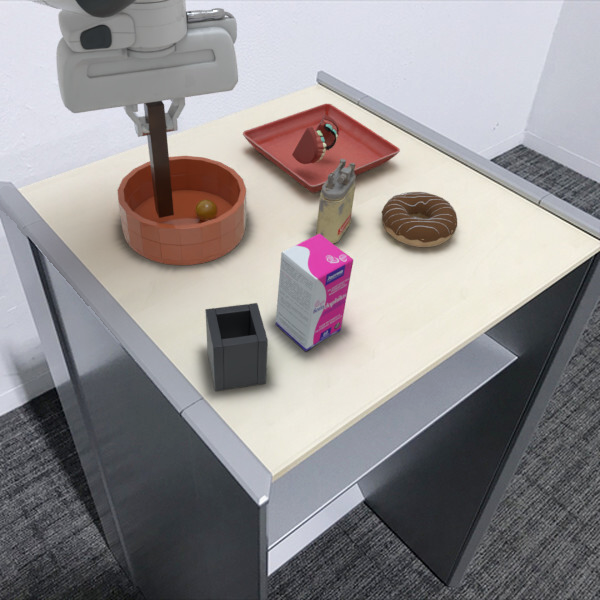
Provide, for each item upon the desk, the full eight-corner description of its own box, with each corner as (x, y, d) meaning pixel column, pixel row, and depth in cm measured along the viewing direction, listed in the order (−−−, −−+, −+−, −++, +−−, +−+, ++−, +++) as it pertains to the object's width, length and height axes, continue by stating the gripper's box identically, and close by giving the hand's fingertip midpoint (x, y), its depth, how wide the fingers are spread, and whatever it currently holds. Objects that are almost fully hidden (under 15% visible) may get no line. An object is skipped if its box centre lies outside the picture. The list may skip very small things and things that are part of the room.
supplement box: (307, 354, 76) (314, 279, 69) (274, 324, 79) (277, 250, 72) (343, 331, 79) (354, 257, 71) (310, 303, 82) (317, 230, 75)
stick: (159, 218, 88) (147, 107, 77) (155, 209, 90) (143, 99, 79) (174, 215, 89) (164, 104, 78) (169, 206, 90) (159, 96, 79)
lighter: (334, 247, 91) (342, 185, 84) (309, 239, 92) (315, 177, 85) (353, 220, 96) (362, 159, 89) (329, 212, 97) (336, 151, 90)
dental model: (334, 154, 104) (309, 175, 98) (313, 137, 104) (287, 158, 98) (350, 126, 99) (324, 147, 94) (328, 109, 100) (301, 129, 94)
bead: (197, 226, 91) (196, 209, 89) (194, 213, 93) (193, 196, 91) (219, 224, 91) (218, 206, 89) (215, 211, 94) (215, 194, 91)
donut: (436, 263, 90) (443, 240, 87) (366, 234, 93) (370, 211, 90) (465, 224, 96) (472, 201, 94) (399, 199, 100) (403, 176, 97)
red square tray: (310, 205, 97) (312, 186, 95) (240, 149, 107) (240, 131, 105) (399, 168, 106) (402, 149, 104) (326, 119, 116) (328, 102, 113)
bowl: (127, 272, 85) (121, 234, 80) (120, 196, 96) (114, 160, 92) (255, 258, 88) (256, 221, 84) (234, 186, 100) (234, 151, 95)
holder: (215, 391, 72) (213, 347, 67) (207, 353, 76) (205, 309, 71) (266, 383, 73) (267, 340, 68) (256, 346, 77) (257, 302, 72)
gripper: (227, -4, 77) (228, 107, 86) (42, 14, 70) (66, 132, 80) (246, 17, 73) (246, 130, 82) (52, 38, 66) (76, 159, 76)
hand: (156, 131), depth 81 cm, fingers closed on stick, 2 cm apart
